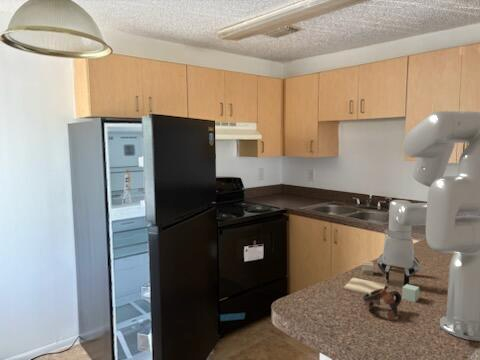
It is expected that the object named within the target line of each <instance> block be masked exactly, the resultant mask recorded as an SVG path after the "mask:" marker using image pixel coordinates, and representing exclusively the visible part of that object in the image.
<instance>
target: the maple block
mask: <svg viewBox="0 0 480 360" xmlns="http://www.w3.org/2000/svg"><path fill="white" fill-rule="evenodd" d="M374 269H375V267H374V262H372V261H362V275H367V276H374Z"/></svg>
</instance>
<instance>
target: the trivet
mask: <svg viewBox="0 0 480 360" xmlns="http://www.w3.org/2000/svg"><path fill="white" fill-rule="evenodd" d="M386 287H387V283H381V282H378V281H377V282H376V281H372V280H366V279H361V278H356V277H352V278H351V279H350V280H349V281H347V283H346V284H345V285H344V286H343V287H342V290H344V291H349V292H353V293H357V294H360V295H364V296H365V295H366V294H369V296H371V292H372V291H375V290H378V289H382V288H383V289H386Z"/></svg>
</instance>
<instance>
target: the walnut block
mask: <svg viewBox="0 0 480 360" xmlns="http://www.w3.org/2000/svg"><path fill="white" fill-rule="evenodd" d="M405 273H406V272H405V270H402V269H396V268H391V270H390V271H389V283H388V286H392V287H396V288H401V289H402V287H403V286H404V276H405Z"/></svg>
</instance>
